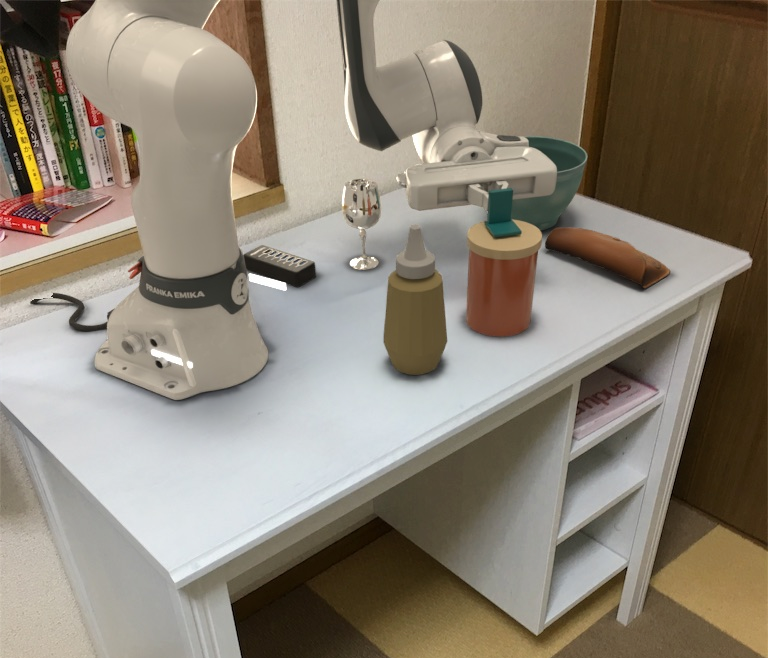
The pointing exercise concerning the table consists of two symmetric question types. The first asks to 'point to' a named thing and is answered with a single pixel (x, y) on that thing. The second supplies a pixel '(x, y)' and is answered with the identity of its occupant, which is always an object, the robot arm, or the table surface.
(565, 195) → the flower pot
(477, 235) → the cup lid
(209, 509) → the table surface
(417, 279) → the squeeze bottle
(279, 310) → the table surface
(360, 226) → the wineglass
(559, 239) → the sunglasses case
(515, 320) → the lidded orange canister
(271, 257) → the multiport hub
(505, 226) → the teal l-shaped bracket
